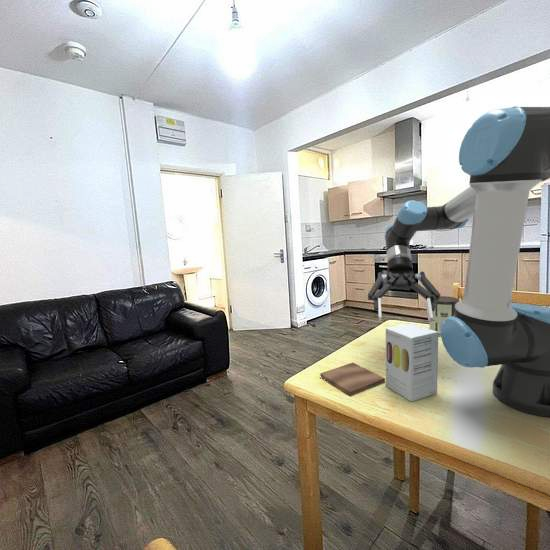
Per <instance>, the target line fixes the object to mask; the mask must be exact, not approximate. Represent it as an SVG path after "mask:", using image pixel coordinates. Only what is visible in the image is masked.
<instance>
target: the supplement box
mask: <svg viewBox="0 0 550 550" xmlns="http://www.w3.org/2000/svg"><path fill="white" fill-rule="evenodd" d="M438 363H439V336H438V332H437V331H433V330H430V328H427V327H424V326H422V325H418V324H416V323H413V322H408V323H403V324H397V325H394V326H388V327H386V328H385V386H386V387H387V388H389V389H390V390H392V391H394V392H395V393H397V394H398V395H400V396H402V397H403V398H405V399H406V400H408V401H409V402H415V401H418V400H420V399H423V398H426V397H429V396H432V395H436V394H437V393H438V370H439V369H438V367H439V366H438V365H439V364H438Z"/></svg>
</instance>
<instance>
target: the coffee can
mask: <svg viewBox="0 0 550 550" xmlns="http://www.w3.org/2000/svg"><path fill="white" fill-rule="evenodd" d="M459 301H460V299H459V298H457V297H453V296H443V295H440V298H439V300H438V301H436V300H435V301H434V302H435V310H434V311H432V314H433V320H432V322H429V329H430V330H433V331H437V332H438V337H440V336H441V333H440V328H441V324H442V322H443V320H445V319H446V318H448V317H452V316H454V310H455V304H456V303H457V302H459Z"/></svg>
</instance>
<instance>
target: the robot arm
mask: <svg viewBox="0 0 550 550" xmlns="http://www.w3.org/2000/svg"><path fill="white" fill-rule="evenodd" d="M458 151H459V153H458V163H459V165H460V166H461V170H462V171H463V173H465V174H467V175H469V187H467V188H466V189H464V190H463V191H461V192H460V193H459V194H457V195H456V196H454V197H453V198H452V199H450V200H448V202H446V203H445V204H443V205H439V206H427V205H425V203H423V202H422V201H416V200H414V199H413V200H408V201H406V202H404V204H403V205H402V206H401V208H400V209H399V211H398V213H397V216H396V218H395V220H394V222H393V223H391V224H390V225H389V226H387V227H386V229H385V232H384V240H385V248H386V249H385V250H386V263H387V264H386V266H387V274H383V273H382V272H380V271H379V272H378V273H377V278H376V281H375V282H374V283H373V285H372V287H371V289H370V290H369V292H368V293H367V299H368V301H373V304H374V305H373V308H374V311H377V312H378V322H382V300H381V299H382V297H384V296H385V295H386V294H387V293H388V292H389V291H390V290H392V289H393V288H394V287H395V288H407V287H409V289H411V290H413V291H415V292H416V293H417V294H418V295H420V297H422V298H424V299H425V301H426V302H425V304H426V305H425V306H426V312H427V319H428V323H430V322H432V320H433V314H432V311H434V310H435V302H434V301H435V300H436V301H438V300H439V298H440V296H441V293H440V291H439V290H438V289H437V288H436V287H435V286H434V285H433V284H432V283H431V281H430V280H429V279H428V277H426V273H425V271H420V273H415V272H414V269H413V268H414V267H413V262H412V253H411V246H410V243H411V241H412V239H413V237H414V236H415V234H416V233H417V232H425V231H443V230H445V231H446V230H447V231H448V230H450V231H451V230H455V229H461V228H463V227H465V226H466V224H467V223H468V221H469V218H472V217H473V220H472V228H471V235H470V244H469V252H468V261H467V269H466V274H465V275H466V276H465V285H464V291H463V298H462V299H461V300H459V302H457V303H456V304H455V310H454V316H452V317H448V318H446V319H445V320H443V322H442V324H441V328H440V333H441V341H442V345H443V347H444V348H445V350H446V353H447V354H448V355H449V356H450V358H451V359H452V360H453V361H454V362H456V364H458V365H460V366H462V367H464V368H479V369H481V368H482V369H483V368H486V367H492V366H499V365H500V367H499V370H498V371H497V374H496V375H495V378H494V379H493V382H492V393H493V395H494V397H496V398H497V399H498V400H499V401H500V402H502V404H505V405H506V406H509V407H511V408H513V409H515V410H518V411H521V412H524V413H527V414H531V415H535V416H540V417H547V418H548V417H549V418H550V307H548V306H541V305H537V304H536V305H535V304H531V303H530V304H529V303H520V302H512V298H513V297H512V296H513V291H514V284H515V283H514V282H515V278H516V272H517V266H518V262H519V261H518V260H519V256H520V255H519V254H520V249H521V243H522V236H523V232H524V227H525V221H526V213H527V208H528V202H529V196H530V192H531V190H532V189H533V188H535V187H536V186H537V185H538V184H540V183H542V182H545V181H547V180H550V106H511V107H504V108H496V109H493V110H489V111H487V112H485V113H484V114H482V115H481V116H479V117H478V118H477V119H476V120H475V121H474V122H473V123H472V125H471V126H470V128H468V129H467V131H466V133H465V135H464V136H463V138H462V141H461V143H460V147H459V150H458ZM416 279H417V280H418V281H419V282H420V283H421V284H419V282H417V281H416ZM385 280H387V282H386V284H384V285H383V286H382V287H381V288H380V286H381V285H382V282H384V281H385ZM379 288H380V289H379ZM377 291H378V292H377Z"/></svg>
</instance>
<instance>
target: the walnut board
mask: <svg viewBox="0 0 550 550" xmlns="http://www.w3.org/2000/svg"><path fill="white" fill-rule="evenodd" d="M320 376H321V377H322V378H321V377H320V378H321V379H323V378H324V379H325V380H324V379H323V380H324V381H326V380H327V381H328V382H327V381H326V382H327V383H329V382H330V383H331V384H330V383H329V384H330V385H332V386H333V387H336V388H337V389H338V390H340V391H341V392H343V393H345V394H346V395H348V396H349V397H352V396H355V395H356V394H359V393H361V392H364V391H367V390H369V389H372V388H375V387H376V386H379V385H382V384H385V383H386V377H383V376H381V375H379V374H377V373H375V372H373V371H371V370H369V369H367V368H365V367H363V366H361V365H359V364H357V363H355V362H350V363H348V364H345V365H341V366H339V367H335V368H333V369H329V370H326V371H323V372H320Z"/></svg>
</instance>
